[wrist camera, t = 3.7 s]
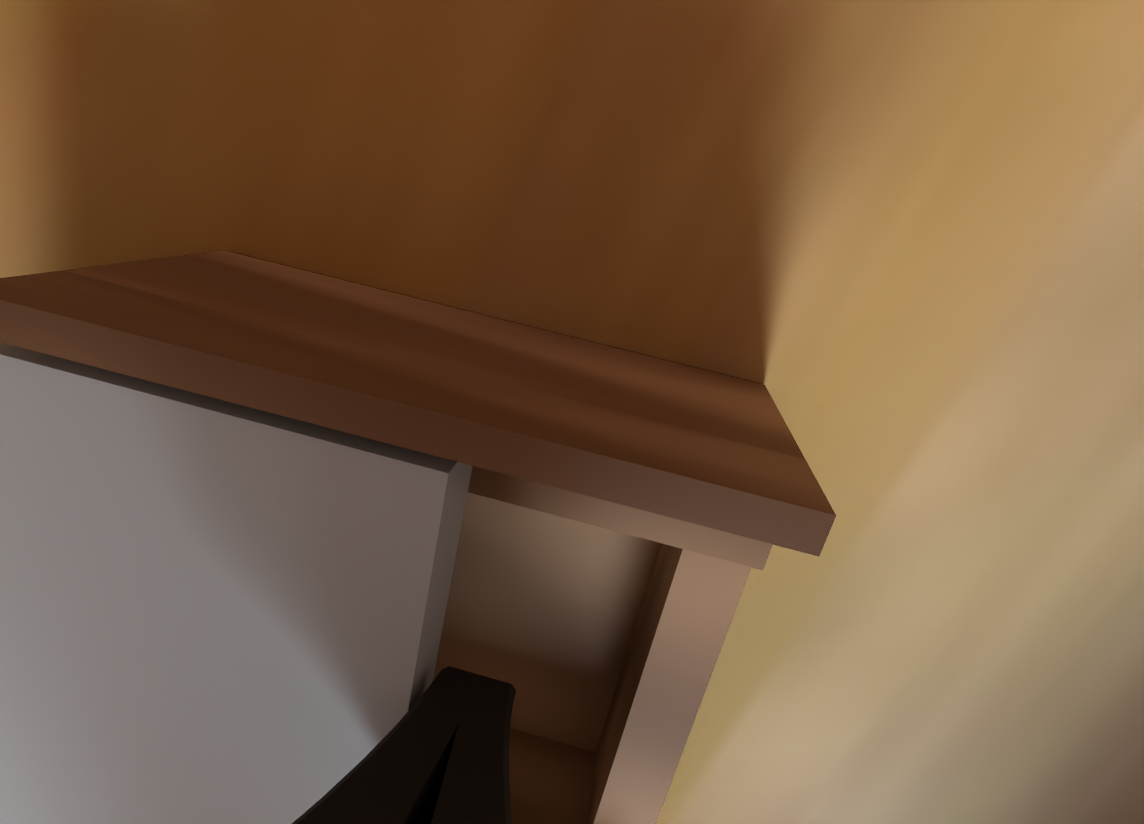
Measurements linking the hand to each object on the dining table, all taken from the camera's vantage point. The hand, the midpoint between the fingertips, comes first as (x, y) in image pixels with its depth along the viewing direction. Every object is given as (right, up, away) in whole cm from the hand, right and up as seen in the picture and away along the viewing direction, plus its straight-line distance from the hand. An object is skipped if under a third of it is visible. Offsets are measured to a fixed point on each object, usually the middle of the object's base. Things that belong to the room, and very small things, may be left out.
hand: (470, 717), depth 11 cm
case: (-1, +2, +4) cm, 5 cm away
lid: (-6, +2, +1) cm, 6 cm away
